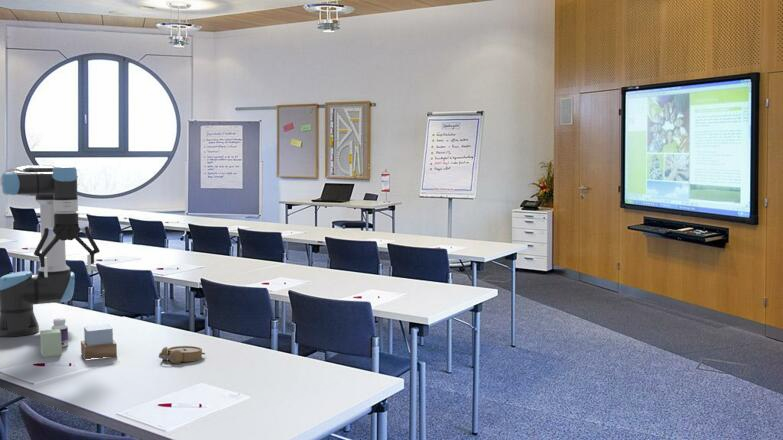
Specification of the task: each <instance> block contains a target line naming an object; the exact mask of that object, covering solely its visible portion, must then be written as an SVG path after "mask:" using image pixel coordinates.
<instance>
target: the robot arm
mask: <svg viewBox="0 0 783 440" xmlns="http://www.w3.org/2000/svg"><path fill="white" fill-rule="evenodd" d="M77 171H78V170H77V168H76V167H75V166H63V165H21V166H20V165H19V166H15V167H11V168H8V169H7V170H5V171H4V172H3V173H2V174H1V176H0V185H1V189H2V190H1V191H2V194H4V195H9V196H10V195H11V196H26V197H29V196H34V197H35V202H37V203H38V204H39V207H40V208H39V210H40V211H39V212H40V216H39V217H40V240H39V242H38V244H37V246H36V248H35V250H34V252H33V255H34V256H35V257H39V265H40V267H39V268H38V269H37V273H36V274H33V272H32V271H31V270H25V271H24V270H23V271H16V272H12V273H8V274H5V275H3V276H1V277H0V337H3V338H4V337H6V338H8V337H10V338H11V337H22V336H28V335H29V336H30V335H32V334H36V333H38V332H40V327H39V326H40V324H39V322H38V319H37V318H36V316H35V312H34V305H44V304H53V303H55V304H57V303H58V304H60V303H65V302H69V301H70V300H72V299H73V295H74V292H75V291H74V290H75V283H76V281H75V279H76V278H75V276H76V275H75V273H74V272H73V271H71V268H70V266H68V265H67V262H66V261H67V260H66V257H67V256H66V254H67V253H66V241H73V240H75V241H77V242H78V243H79V245H81V246H82V248H83V249H85V250H86V251H87V252H88V253H89V254H87V255H86V256H87V258H86V259H87V263H86V264H87V275H92V265H94V264H95V254H98V253H100V248H99V246H98V245H97V244H96V242H95V240H94V238H93V236H92V235H91V232H90V229H89V228H90V227H89V226H88V225H85V226H80V224H79V214H78V212H79V203H78V172H77ZM80 231H82V233H83V234H84V235H85V236H86V238H87V240H88V241H89V243H90V246H91V247H92V248H93V250H92V249H91V248H90V247H89V245H87V244H86V242H84V241H83V239H81V237H80V236H79V235H78V234H79V233H80Z"/></svg>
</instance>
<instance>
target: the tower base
mask: <svg viewBox="0 0 783 440" xmlns="http://www.w3.org/2000/svg"><path fill="white" fill-rule="evenodd" d="M117 346H118V345H117V342H116V341H115V340H114V339H113V343H110V344H101V345H92V346H88V345H87V344H86V342H85V339H84V340H80V352H81V353H82V355H83V356H84V358H85V359H91V358H103V357H111V358H110V359H112V358H118V356H117V355H118V354H117V349H118V348H117ZM82 355H81V356H82ZM83 356H82V357H83ZM84 358H83V359H84ZM85 359H84V360H85Z"/></svg>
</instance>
